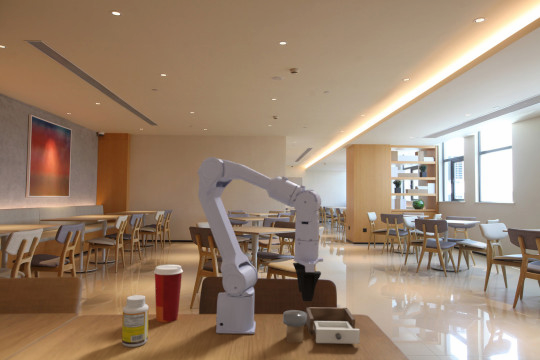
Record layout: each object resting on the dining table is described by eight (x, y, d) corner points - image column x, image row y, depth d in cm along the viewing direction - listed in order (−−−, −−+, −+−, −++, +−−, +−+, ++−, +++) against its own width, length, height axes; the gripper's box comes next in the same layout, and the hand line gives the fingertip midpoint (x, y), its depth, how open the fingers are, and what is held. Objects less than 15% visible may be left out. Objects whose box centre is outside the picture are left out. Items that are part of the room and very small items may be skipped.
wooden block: (287, 342, 87) (287, 324, 87) (286, 336, 90) (286, 319, 90) (302, 342, 87) (303, 325, 87) (301, 336, 90) (301, 319, 90)
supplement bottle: (133, 336, 88) (135, 292, 89) (152, 340, 86) (154, 295, 86) (115, 345, 83) (117, 298, 83) (135, 349, 81) (137, 302, 81)
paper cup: (185, 315, 104) (186, 264, 104) (175, 324, 96) (177, 270, 97) (158, 313, 105) (160, 263, 105) (146, 323, 97) (148, 269, 98)
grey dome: (283, 326, 86) (283, 317, 86) (282, 318, 91) (282, 309, 91) (307, 326, 86) (308, 318, 86) (305, 318, 91) (305, 310, 91)
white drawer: (316, 344, 84) (317, 330, 84) (311, 328, 94) (311, 316, 94) (360, 344, 84) (360, 331, 84) (350, 328, 94) (350, 316, 94)
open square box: (310, 335, 91) (310, 318, 91) (306, 322, 100) (306, 307, 101) (354, 335, 91) (355, 319, 92) (346, 322, 101) (346, 307, 101)
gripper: (328, 244, 83) (327, 305, 83) (318, 236, 98) (317, 288, 97) (297, 243, 83) (295, 305, 83) (291, 235, 98) (290, 288, 97)
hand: (305, 296), depth 90 cm, fingers open, 7 cm apart
